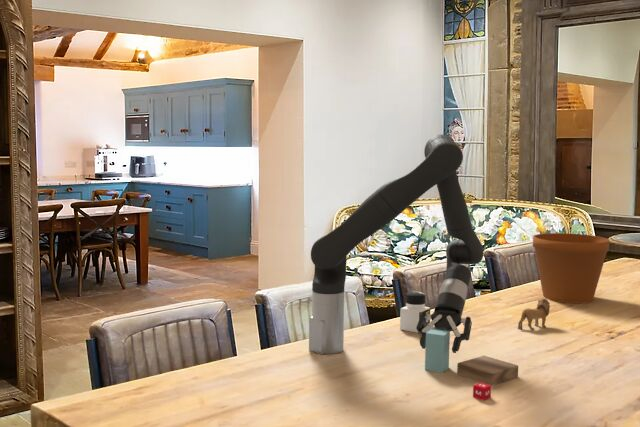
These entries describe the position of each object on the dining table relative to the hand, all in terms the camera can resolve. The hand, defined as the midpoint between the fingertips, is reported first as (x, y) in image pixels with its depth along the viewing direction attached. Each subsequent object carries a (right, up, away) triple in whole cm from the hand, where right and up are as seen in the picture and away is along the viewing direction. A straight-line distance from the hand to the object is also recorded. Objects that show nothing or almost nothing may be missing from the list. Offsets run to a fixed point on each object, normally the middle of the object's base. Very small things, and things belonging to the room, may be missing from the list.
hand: (438, 349), depth 194 cm
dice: (+7, -8, -20) cm, 23 cm away
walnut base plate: (+12, -6, -4) cm, 14 cm away
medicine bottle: (-1, -1, +41) cm, 41 cm away
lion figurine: (+39, -1, +46) cm, 60 cm away
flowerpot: (+65, +3, +91) cm, 112 cm away
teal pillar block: (0, -5, +1) cm, 6 cm away
